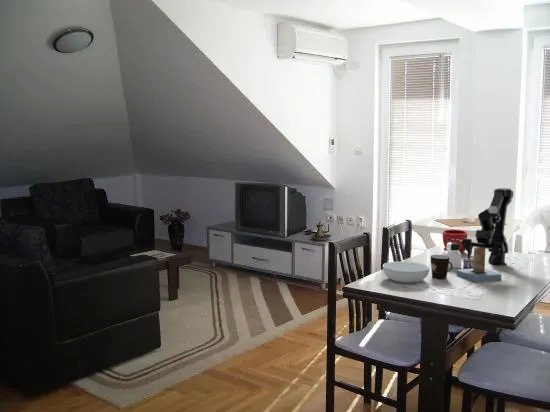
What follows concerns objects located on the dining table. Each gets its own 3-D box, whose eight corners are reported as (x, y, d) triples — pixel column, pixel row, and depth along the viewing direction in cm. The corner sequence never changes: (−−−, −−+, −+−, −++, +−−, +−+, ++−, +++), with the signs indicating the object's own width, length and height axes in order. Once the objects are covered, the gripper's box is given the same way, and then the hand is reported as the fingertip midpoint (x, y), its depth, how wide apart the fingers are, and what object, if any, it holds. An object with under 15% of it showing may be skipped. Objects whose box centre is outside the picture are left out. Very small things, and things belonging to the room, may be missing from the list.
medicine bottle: (458, 264, 291) (458, 241, 290) (461, 268, 284) (462, 244, 282) (443, 264, 292) (444, 241, 290) (446, 267, 285) (447, 244, 283)
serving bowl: (439, 282, 257) (439, 267, 256) (404, 289, 246) (405, 273, 245) (406, 273, 275) (406, 259, 274) (372, 278, 264) (373, 264, 263)
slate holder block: (481, 272, 274) (481, 267, 274) (501, 279, 261) (501, 274, 261) (456, 275, 270) (456, 269, 270) (475, 282, 257) (475, 276, 257)
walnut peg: (479, 275, 269) (480, 246, 267) (486, 278, 264) (487, 248, 262) (470, 276, 267) (471, 247, 265) (477, 279, 262) (478, 249, 261)
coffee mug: (427, 275, 270) (428, 254, 268) (445, 275, 270) (446, 254, 268) (434, 281, 258) (435, 260, 257) (453, 281, 258) (454, 260, 257)
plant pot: (440, 249, 328) (440, 229, 326) (463, 250, 327) (464, 229, 325) (444, 254, 315) (445, 233, 313) (468, 255, 314) (469, 233, 312)
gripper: (463, 221, 272) (454, 248, 264) (504, 225, 261) (496, 252, 253) (468, 235, 279) (459, 261, 271) (508, 239, 268) (500, 267, 260)
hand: (478, 260), depth 264 cm, fingers open, 9 cm apart
